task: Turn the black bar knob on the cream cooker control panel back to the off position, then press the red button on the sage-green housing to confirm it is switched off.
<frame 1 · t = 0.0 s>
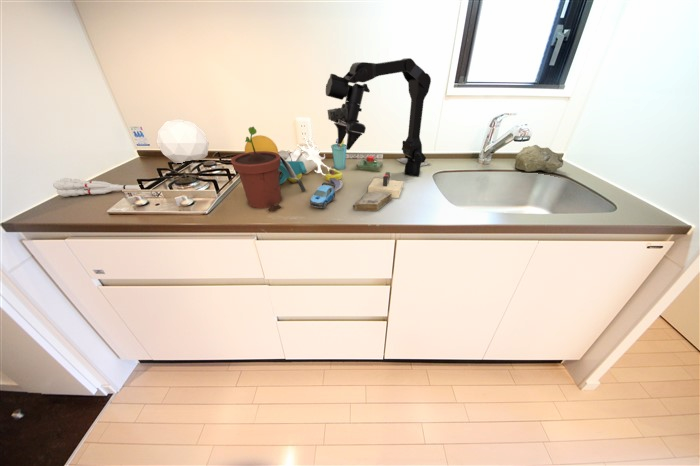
hand: (343, 146, 97), 15 cm above the worktop, tool pointing down, fingers open, 9 cm apart
fruit: (294, 182, 106), on the worktop, touching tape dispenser
geometric form: (183, 156, 131), point 1 cm above the worktop
rock: (542, 158, 113), point 7 cm above the worktop
napkin holder: (412, 162, 130), on the worktop
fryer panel: (385, 191, 100), on the worktop
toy: (246, 159, 117), point 5 cm above the worktop
power button: (370, 158, 120), point 4 cm above the worktop, slide at 0.1 cm
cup: (339, 168, 122), on the worktop
white branched figurine: (316, 156, 111), point 8 cm above the worktop, touching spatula
knife: (334, 183, 107), on the worktop
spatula: (296, 146, 113), point 11 cm above the worktop, touching white branched figurine, seashell
stone: (372, 204, 90), on the worktop
potted plant: (273, 200, 92), on the worktop, touching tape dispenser
seashell: (293, 158, 112), point 7 cm above the worktop, touching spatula
toy car: (322, 203, 90), on the worktop
rocket model: (58, 187, 92), point 3 cm above the worktop
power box: (369, 167, 123), on the worktop
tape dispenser: (289, 179, 99), point 4 cm above the worktop, touching fruit, potted plant
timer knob: (386, 178, 97), point 5 cm above the worktop, hinge at 90.0°
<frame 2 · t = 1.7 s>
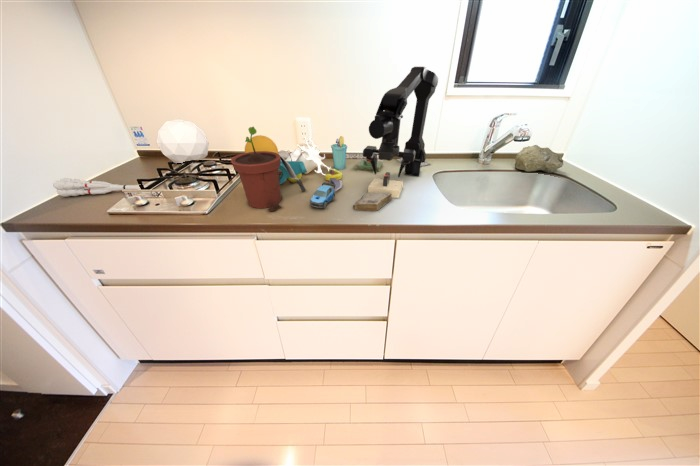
hand: (386, 175, 96), 6 cm above the worktop, tool pointing down, fingers open, 9 cm apart
nothing on the worktop moved.
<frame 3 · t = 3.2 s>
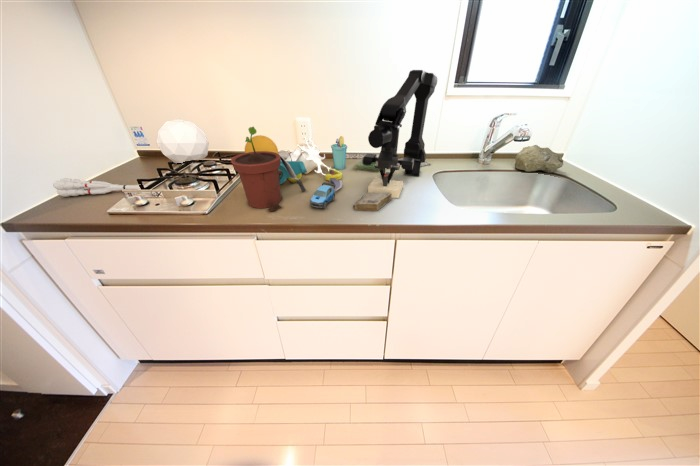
hand: (386, 182, 98), 4 cm above the worktop, tool pointing down, fingers closed on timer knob, 2 cm apart
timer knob: (386, 178, 97), point 5 cm above the worktop, hinge at 89.9°, touching gripper
everything else where it was.
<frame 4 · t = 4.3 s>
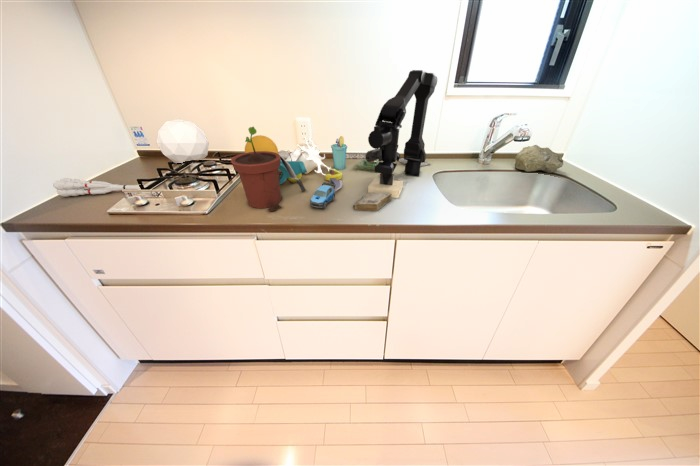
hand: (386, 183, 98), 3 cm above the worktop, tool pointing down, fingers closed
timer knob: (386, 178, 97), point 5 cm above the worktop, hinge at 0.6°
everything else where it was.
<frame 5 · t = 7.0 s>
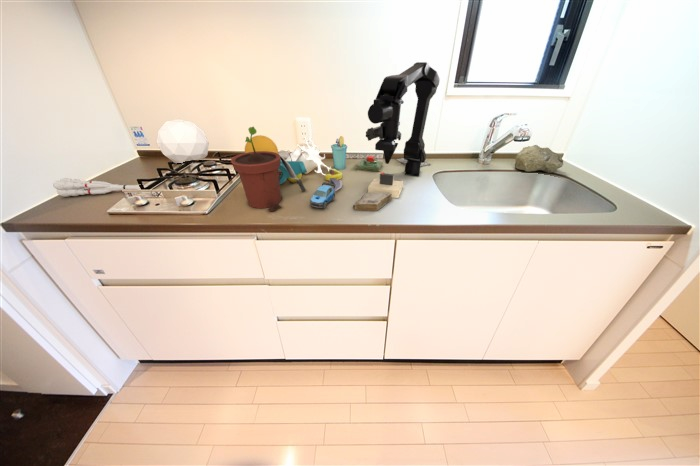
hand: (387, 163, 95), 11 cm above the worktop, tool pointing down, fingers closed
nothing on the worktop moved.
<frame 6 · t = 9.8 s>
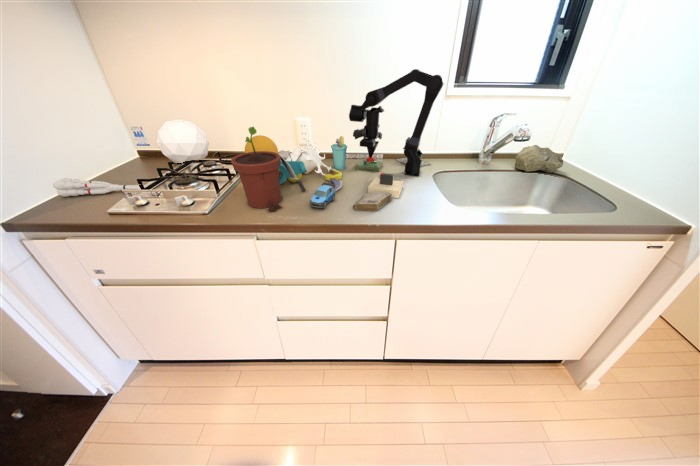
hand: (370, 157, 120), 5 cm above the worktop, tool pointing down, fingers closed, pressing on power button
power button: (370, 159, 120), point 4 cm above the worktop, slide at -0.2 cm, touching gripper
everything else where it was.
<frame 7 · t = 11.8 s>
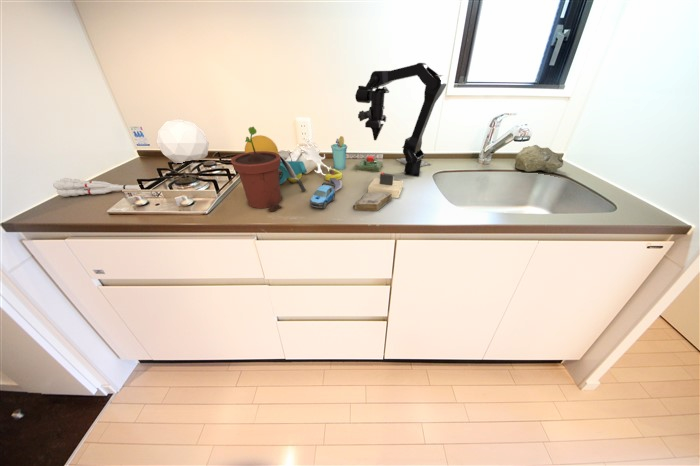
hand: (375, 140, 120), 12 cm above the worktop, tool pointing down, fingers closed
power button: (370, 158, 120), point 4 cm above the worktop, slide at 0.1 cm
everything else where it was.
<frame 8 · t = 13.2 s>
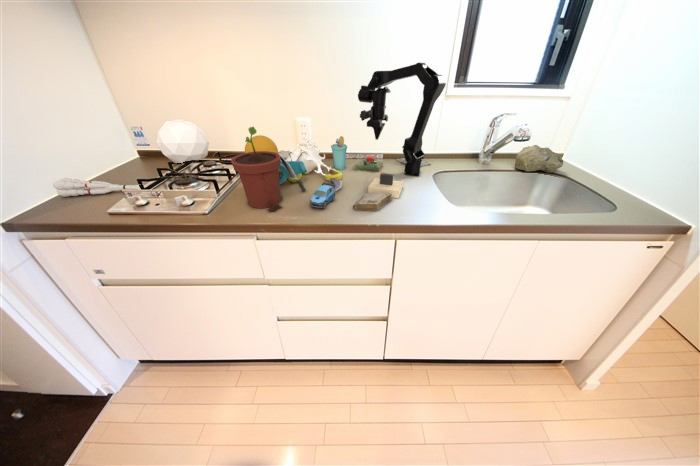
hand: (376, 139, 121), 12 cm above the worktop, tool pointing down, fingers closed
nothing on the worktop moved.
at the end: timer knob at +1° (first picture: +90°); power button pushed in 1.1 cm at the most during the clip, back to where it started at the end; power button slide at 0.1 cm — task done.
